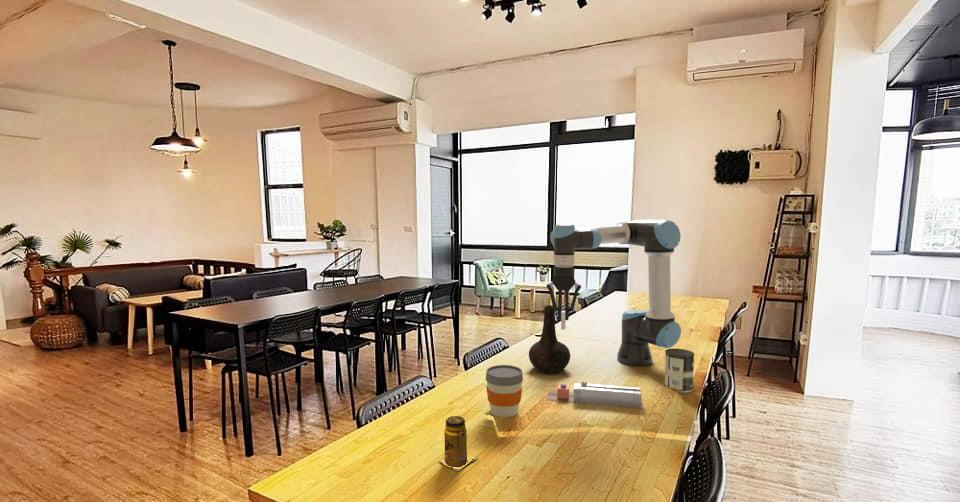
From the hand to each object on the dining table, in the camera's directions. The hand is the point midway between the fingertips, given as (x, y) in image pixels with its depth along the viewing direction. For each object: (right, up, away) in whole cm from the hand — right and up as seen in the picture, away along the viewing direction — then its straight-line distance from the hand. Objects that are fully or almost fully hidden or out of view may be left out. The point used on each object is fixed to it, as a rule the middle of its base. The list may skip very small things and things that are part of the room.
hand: (563, 328), depth 168 cm
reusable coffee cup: (-23, -26, -17) cm, 39 cm away
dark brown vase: (-1, -23, +26) cm, 34 cm away
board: (+9, -25, -8) cm, 28 cm away
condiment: (-37, -29, -45) cm, 65 cm away
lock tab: (-1, -24, -6) cm, 25 cm away
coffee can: (+46, -24, +5) cm, 52 cm away
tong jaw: (+15, -24, -10) cm, 30 cm away
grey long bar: (+13, -24, -11) cm, 30 cm away
